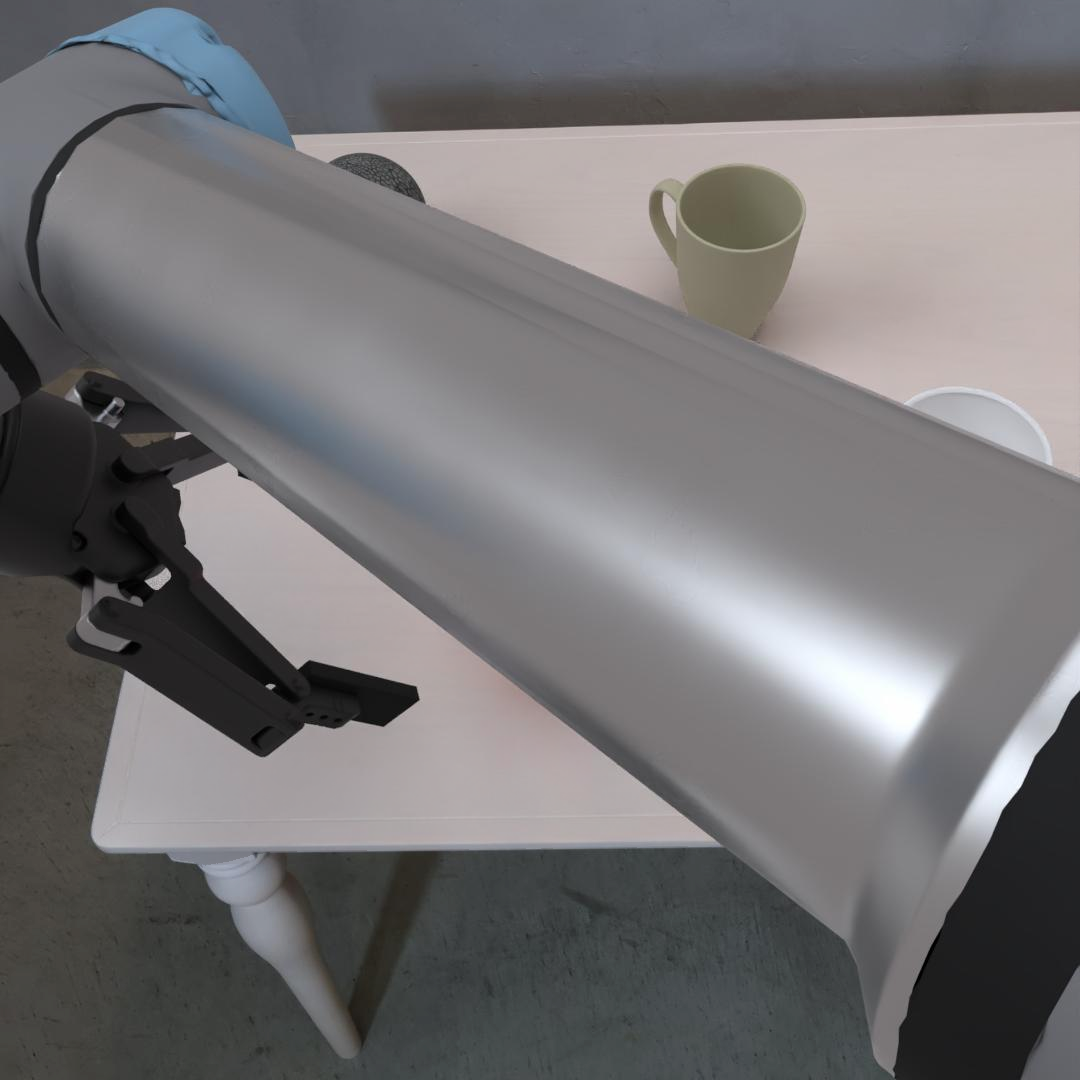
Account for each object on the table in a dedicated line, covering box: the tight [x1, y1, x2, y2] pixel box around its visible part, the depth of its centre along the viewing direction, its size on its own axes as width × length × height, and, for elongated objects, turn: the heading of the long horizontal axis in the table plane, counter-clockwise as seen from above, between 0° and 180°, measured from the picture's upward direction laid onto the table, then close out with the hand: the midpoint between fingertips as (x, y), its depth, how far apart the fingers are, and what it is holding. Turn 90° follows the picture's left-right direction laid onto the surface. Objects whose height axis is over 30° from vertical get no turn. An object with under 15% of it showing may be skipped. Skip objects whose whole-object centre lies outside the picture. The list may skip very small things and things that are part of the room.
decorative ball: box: [328, 152, 427, 204], centre depth 90 cm, size 10×10×10 cm
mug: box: [648, 163, 807, 340], centre depth 84 cm, size 11×10×12 cm
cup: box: [902, 385, 1055, 467], centre depth 73 cm, size 10×10×11 cm
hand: (374, 593), depth 59 cm, fingers open, 13 cm apart
